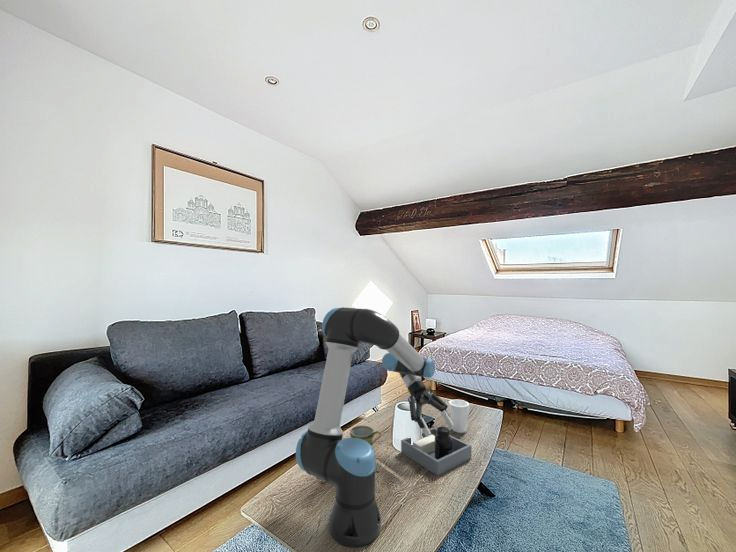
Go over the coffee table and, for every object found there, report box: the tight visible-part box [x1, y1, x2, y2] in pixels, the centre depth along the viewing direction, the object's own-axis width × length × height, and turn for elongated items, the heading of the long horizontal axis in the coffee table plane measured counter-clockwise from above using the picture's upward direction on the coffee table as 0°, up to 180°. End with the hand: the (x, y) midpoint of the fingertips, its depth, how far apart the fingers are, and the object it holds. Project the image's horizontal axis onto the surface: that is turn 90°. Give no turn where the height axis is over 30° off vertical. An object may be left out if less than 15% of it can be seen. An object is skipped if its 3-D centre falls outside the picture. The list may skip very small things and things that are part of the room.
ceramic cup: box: [349, 424, 382, 447], centre depth 132 cm, size 13×10×10 cm
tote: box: [400, 427, 472, 477], centre depth 129 cm, size 20×20×6 cm
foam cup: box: [448, 399, 470, 434], centre depth 154 cm, size 10×9×13 cm
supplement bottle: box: [435, 426, 452, 460], centre depth 126 cm, size 7×7×12 cm
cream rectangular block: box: [413, 435, 435, 454], centre depth 133 cm, size 12×5×4 cm, turn 126°
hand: (440, 430), depth 128 cm, fingers open, 13 cm apart
